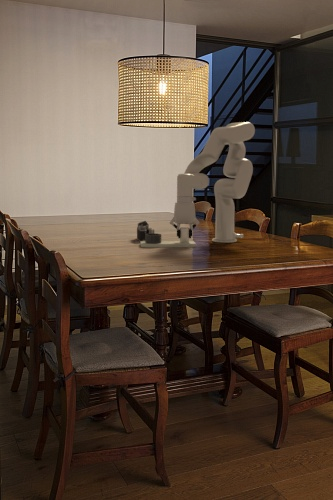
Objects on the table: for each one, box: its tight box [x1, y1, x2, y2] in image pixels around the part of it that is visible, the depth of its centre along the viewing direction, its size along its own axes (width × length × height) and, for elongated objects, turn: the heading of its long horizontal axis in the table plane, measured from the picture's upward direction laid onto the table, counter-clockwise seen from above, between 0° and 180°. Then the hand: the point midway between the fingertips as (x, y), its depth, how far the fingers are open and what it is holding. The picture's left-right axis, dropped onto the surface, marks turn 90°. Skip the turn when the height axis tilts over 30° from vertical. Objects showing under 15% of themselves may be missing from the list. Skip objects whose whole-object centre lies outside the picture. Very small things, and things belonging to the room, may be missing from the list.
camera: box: [136, 220, 155, 243], centre depth 292 cm, size 16×8×10 cm, turn 10°
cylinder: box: [179, 226, 190, 243], centre depth 273 cm, size 4×4×7 cm
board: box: [140, 240, 197, 248], centre depth 273 cm, size 26×10×2 cm, turn 94°
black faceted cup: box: [145, 232, 162, 244], centre depth 272 cm, size 8×8×4 cm
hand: (184, 237), depth 273 cm, fingers open, 4 cm apart
